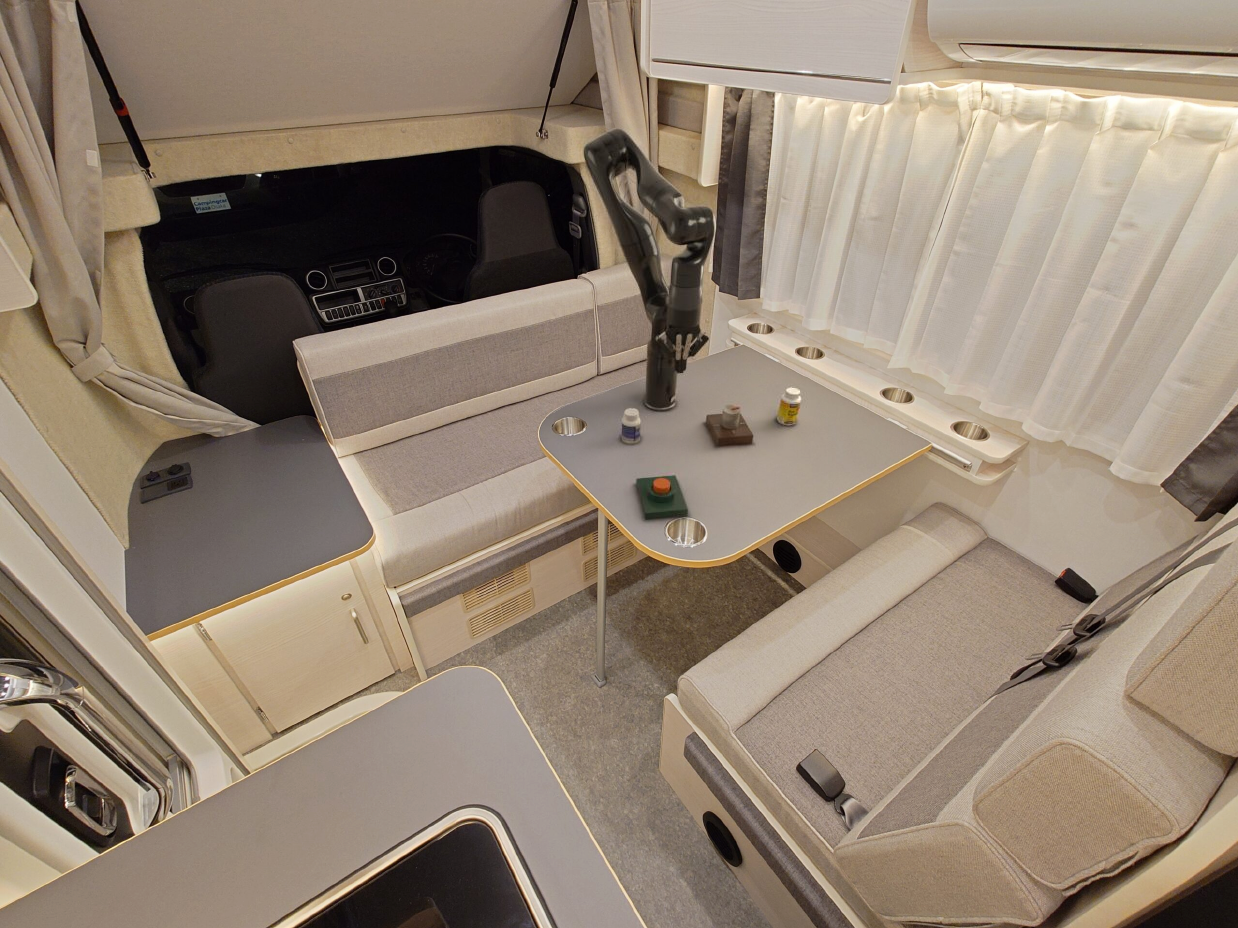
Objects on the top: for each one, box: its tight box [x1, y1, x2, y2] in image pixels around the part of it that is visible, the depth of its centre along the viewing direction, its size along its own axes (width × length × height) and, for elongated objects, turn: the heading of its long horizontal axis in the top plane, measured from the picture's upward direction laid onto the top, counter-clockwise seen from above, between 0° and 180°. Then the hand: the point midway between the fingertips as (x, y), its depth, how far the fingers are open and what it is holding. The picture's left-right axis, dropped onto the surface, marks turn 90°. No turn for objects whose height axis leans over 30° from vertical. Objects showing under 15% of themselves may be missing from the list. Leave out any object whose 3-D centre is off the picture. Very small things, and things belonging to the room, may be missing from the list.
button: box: [653, 478, 670, 494], centre depth 133 cm, size 4×4×2 cm
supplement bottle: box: [776, 387, 802, 426], centre depth 162 cm, size 6×6×10 cm
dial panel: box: [705, 413, 754, 448], centre depth 158 cm, size 12×10×3 cm
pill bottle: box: [620, 407, 642, 445], centre depth 154 cm, size 5×5×9 cm
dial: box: [721, 404, 741, 429], centre depth 156 cm, size 5×5×5 cm
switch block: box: [635, 474, 689, 521], centre depth 135 cm, size 13×10×4 cm
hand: (679, 371), depth 136 cm, fingers closed
